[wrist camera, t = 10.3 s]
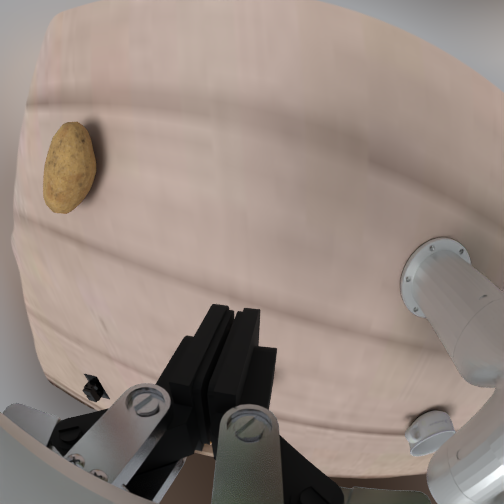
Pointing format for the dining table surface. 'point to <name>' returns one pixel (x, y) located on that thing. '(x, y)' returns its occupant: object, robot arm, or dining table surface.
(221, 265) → the dining table surface
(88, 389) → the black angular piece
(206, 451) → the stopper
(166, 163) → the dining table surface
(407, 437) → the teacup
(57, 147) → the potato
